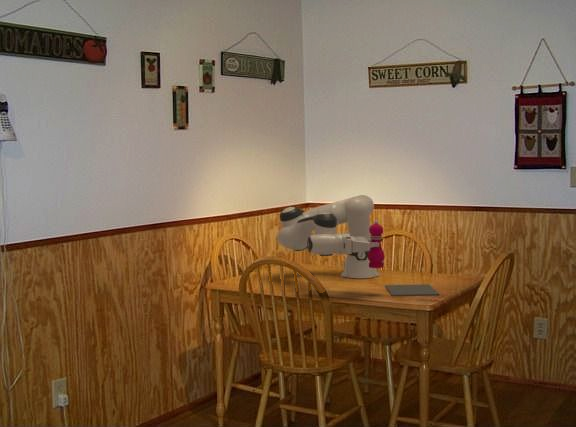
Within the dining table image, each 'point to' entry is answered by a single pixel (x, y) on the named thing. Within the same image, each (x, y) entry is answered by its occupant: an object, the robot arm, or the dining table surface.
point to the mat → (411, 290)
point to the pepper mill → (376, 253)
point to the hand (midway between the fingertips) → (378, 243)
